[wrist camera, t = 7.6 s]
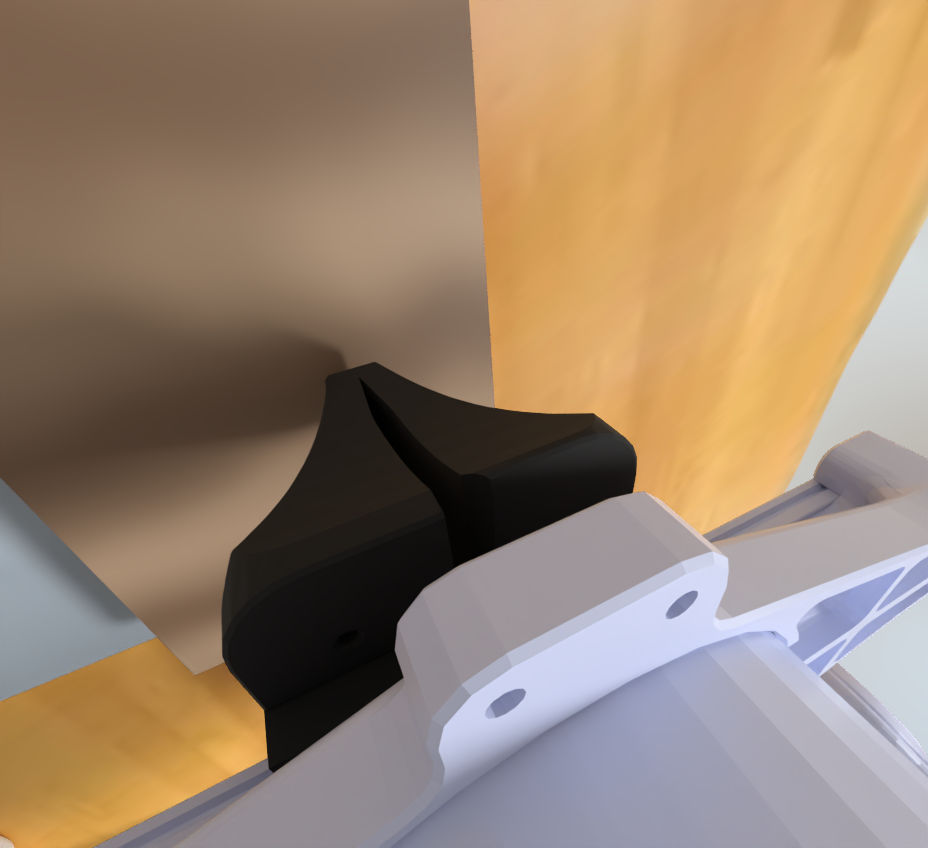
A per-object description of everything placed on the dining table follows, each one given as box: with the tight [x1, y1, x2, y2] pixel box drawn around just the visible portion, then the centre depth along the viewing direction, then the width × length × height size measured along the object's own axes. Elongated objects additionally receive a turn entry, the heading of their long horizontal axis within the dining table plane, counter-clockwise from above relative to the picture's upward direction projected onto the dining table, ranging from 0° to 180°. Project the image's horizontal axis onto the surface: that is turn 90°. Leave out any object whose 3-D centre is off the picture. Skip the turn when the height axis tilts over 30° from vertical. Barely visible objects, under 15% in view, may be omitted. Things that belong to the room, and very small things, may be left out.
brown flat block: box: [0, 0, 495, 675], centre depth 13 cm, size 18×12×4 cm, turn 6°
